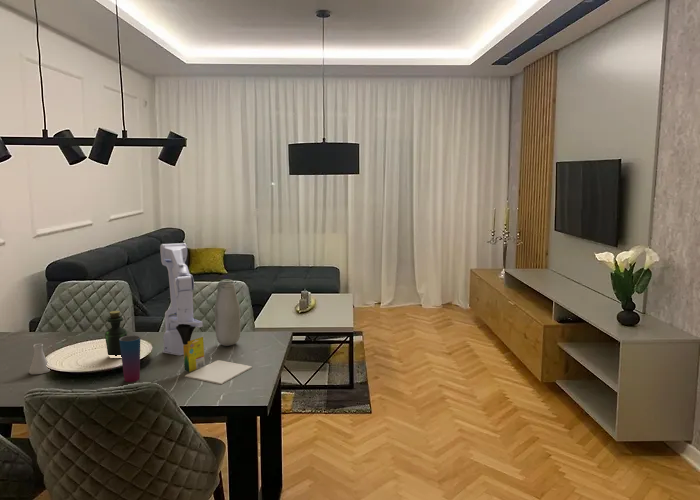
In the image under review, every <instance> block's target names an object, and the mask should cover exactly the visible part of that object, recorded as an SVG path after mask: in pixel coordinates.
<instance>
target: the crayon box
mask: <svg viewBox="0 0 700 500" xmlns="http://www.w3.org/2000/svg"><path fill="white" fill-rule="evenodd" d="M204 346H205V345H204V336H201V337H198V338H194V339H192V340H191V339H190V341H188V344H186V345H183V349H184V354H183V361H184V362H183V364H184V365H183V366H184V367H183V368H184V372H187V373H191V372H194V371H196V370H198V369H200V368H202V367H204V366H206V365H205V362H206V361H205V347H204Z"/></svg>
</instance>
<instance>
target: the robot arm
mask: <svg viewBox="0 0 700 500" xmlns="http://www.w3.org/2000/svg"><path fill="white" fill-rule="evenodd" d="M159 247H160V248H159V250H160V253H159V254H160V261H161V264H162V266H164V267H166V269H167V272H168V282H169V294H170V295H169V296H170V307H169V308H168V309H167V310H166V311H165V313H164V326H165V331H164V333H163V337H162V338H163V340H162V341H163V350H162V353H163V354H169V355H175V356H184V349H183V345H186V344H188V341H191V339H192V338H191V337H192V335H193V333H194V330H195V328H197V329H201V328H202V327H204V321H201V320H198V319H196V318H194V301H193V299H194V296H193V294H194V292H193V291H194V289H195V280H194V277H193V274H191V273H190V271H189V267H188V265H187V264H186V261H187V257H188V245H187V244H186V243H185V242H180V243H179V242H177V243H161V244H160V246H159Z"/></svg>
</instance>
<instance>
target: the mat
mask: <svg viewBox="0 0 700 500" xmlns="http://www.w3.org/2000/svg"><path fill="white" fill-rule="evenodd" d="M252 368H253V366H251V365H246V364H243V363H242V364H241V363H237V362H236V363H235V362H230V361H225V360H219V359H217V360H215V361H213V362H210V363H209V364H207V365H205V366H204V367H202V368H199V369H196V370H194V371H191V372H188V373H187V374H185V375H184V378H189V379H193V380H198V381H202V382H208V383H213V384H217V385H223V384H225V383H228V382H229V381H231V380H233V379H234V378H236V377H238V376H239V375H241V374H243V373H245V372H247V371H249V370H251V369H252Z"/></svg>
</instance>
